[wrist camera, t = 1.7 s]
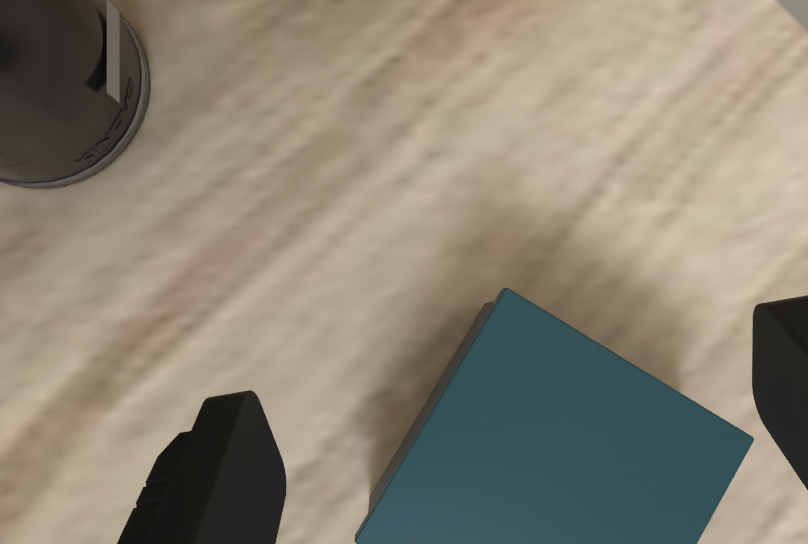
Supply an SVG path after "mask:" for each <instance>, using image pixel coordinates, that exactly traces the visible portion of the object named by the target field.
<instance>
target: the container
mask: <svg viewBox="0 0 808 544" xmlns="http://www.w3.org/2000/svg"><path fill="white" fill-rule="evenodd" d="M753 441H754V438H753V437H752V436H750V435H748V434H747V433H745V432H744V431H742V430H740V429H739V428H737V427H735V426H734V425H732V424H730V423H729V422H727V421H725V420H724V419H722V418H720V417H719V416H717V415H716V414H714V413H712V412H711V411H709V410H707V409H706V408H704V407H702V406H701V405H699V404H697V403H696V402H694V401H693V400H691V399H689V398H688V397H686V396H684V395H683V394H681V393H679V392H678V391H676V390H674V389H673V388H671V387H670V386H668V385H666V384H665V383H663V382H661V381H660V380H658V379H656V378H655V377H653V376H651V375H650V374H648V373H646V372H645V371H643V370H642V369H640V368H638V367H637V366H635V365H633V364H632V363H630V362H628V361H627V360H625V359H623V358H622V357H620V356H619V355H617V354H615V353H614V352H612V351H610V350H609V349H607V348H605V347H604V346H602V345H600V344H599V343H597V342H596V341H594V340H592V339H591V338H589V337H587V336H586V335H584V334H582V333H581V332H579V331H577V330H576V329H574V328H572V327H571V326H569V325H568V324H566V323H564V322H563V321H561V320H559V319H558V318H556V317H554V316H553V315H551V314H549V313H548V312H546V311H545V310H543V309H541V308H540V307H538V306H536V305H535V304H533V303H531V302H530V301H528V300H526V299H525V298H523V297H521V296H520V295H518V294H517V293H515V292H513V291H512V290H510V289H508V288H504V289H502V290H501V291H500V293H499V295H498V297H497V298H496V300H495V302H490V303H486V304H485V305H484V306H483V308H482V310H481V311H480V313H479V315H478V316H477V318H476V320H475V322H474V323H473V325H472V327H471V328H470V330H469V332H468V333H467V335H466V337H465V338H464V340H463V342H462V343H461V345H460V347H459V348H458V350H457V352H456V353H455V355H454V357H453V358H452V360H451V362H450V363H449V365H448V367H447V368H446V370H445V372H444V373H443V375H442V377H441V378H440V380H439V382H438V383H437V385H436V387H435V388H434V390H433V392H432V393H431V395H430V397H429V398H428V400H427V402H426V403H425V405H424V407H423V408H422V410H421V412H420V413H419V415H418V417H417V419H416V420H415V422H414V424H413V425H412V427H411V429H410V430H409V432H408V434H407V435H406V437H405V439H404V440H403V442H402V444H401V445H400V447H399V449H398V450H397V452H396V454H395V455H394V457H393V459H392V460H391V462H390V464H389V465H388V467H387V469H386V470H385V472H384V474H383V475H382V477H381V479H380V480H379V482H378V484H377V485H376V487H375V489H374V490H373V492H372V494H371V495H370V498H369V510H368V514H367V516H366V518H365V519H364V521H363V523H362V524H361V526H360V528H359V529H358V531H357V533H356V535H355V542H356V543H357V544H697V542H698V540H699V538H700V537H701V535H702V533H703V531H704V529H705V528H706V526H707V524H708V522H709V520H710V519H711V517H712V515H713V513H714V511H715V510H716V508H717V506H718V504H719V502H720V501H721V499H722V497H723V495H724V493H725V492H726V490H727V488H728V486H729V484H730V483H731V481H732V479H733V477H734V475H735V473H736V472H737V470H738V468H739V466H740V464H741V463H742V461H743V459H744V457H745V455H746V454H747V452H748V450H749V448H750V446H751V445H752V443H753Z"/></svg>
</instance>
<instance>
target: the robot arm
mask: <svg viewBox="0 0 808 544" xmlns="http://www.w3.org/2000/svg"><path fill="white" fill-rule="evenodd" d="M148 96H149V71H148V65H147V60H146V57H145V53H144V50H143V48H142V45H141V43H140V41H139V39H138V37H137V35H136V33H135V32H134V30H133V29H132V27H131V26H130V24H129V23H128V22H127V21H126V20H125V18H124V17H123V16H122V15H121V14H120V12H119V11H118V10H117V9H116V8H115V7H114V5H113V4H112V3H111V2H110V1H109V0H0V181H1V182H3V183H7V184H10V185H13V186H18V187H23V188H32V189H48V188H57V187H63V186H67V185H71V184H74V183H77V182H80V181H82V180H85V179H87V178H89V177H91V176H93V175H95V174H96V173H98V172H100V171H101V170H103V169H104V168H106V167H107V166H108V165H110V164H111V163H112V162H113V161H114V160H115V159H116V158H117V157H119V156H120V154H121V153H122V152H123V151H124V150H125V149H126V148H127V146H128V145H129V144H130V142H131V141H132V139H133V138H134V136H135V134H136V133H137V131H138V129H139V127H140V125H141V122H142V120H143V117H144V114H145V111H146V107H147V103H148ZM752 388H753V395H754V400H755V404H756V407H757V410H758V413H759V416H760V418H761V420H762V422H763V424H764V426H765V427H766V429H767V430H768V432H769V433H770V435H771V436H772V438H773V439H774V441H775V442H776V444H777V445H778V447H779V448H780V450H781V451H782V453H783V454H784V456H785V457H786V459H787V460H788V462H789V463H790V465H791V466H792V468H793V469H794V471H795V472H796V474H797V475H798V477H799V478H800V480H801V481H802V482H803V484H804V485H805V487H806V488H807V490H808V295H807V296H802V297H796V298H790V299H784V300H778V301H773V302H767V303H761V304H758V305H756V307H755V309H754V312H753V353H752ZM285 497H286V474H285V468H284V464H283V460H282V457H281V455H280V452H279V450H278V447H277V444H276V442H275V439H274V437H273V434H272V431H271V429H270V426H269V424H268V421H267V419H266V416H265V413H264V411H263V408H262V406H261V403H260V401H259V398H258V397H257V395H256V394H255V393H254V392H253V391H251V390H249V391H244V392H238V393H232V394H226V395H220V396H215V397H209V398H207V399H206V400H205V401H204V402H203V404H202V407H201V409H200V411H199V414H198V416H197V418H196V421H195V423H194V426H193V428H192V430H191V431H189V432H183V433H179V434H178V435H177V436H176V438H175V439H174V440H173V441H172V442H171V443H170V444H169V445H168V446H167V447H166V448H165V449H164V451H163V452H162V453H161V454H160V455H159V456H158V457H157V459H156V461H155V464H154V466H153V468H152V470H151V472H150V474H149V476H148V479H147V481H146V487H143V489H142V491H141V494H140V496H139V498H138V500H137V502H136V504H137V507H136V508H133V511H132V513H131V515H130V517H129V519H128V521H127V523H126V526H125V528H124V530H123V532H122V534H121V536H120V538H119V541H118V543H117V544H275V543H276V538H277V534H278V529H279V525H280V520H281V516H282V511H283V507H284V502H285Z"/></svg>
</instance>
